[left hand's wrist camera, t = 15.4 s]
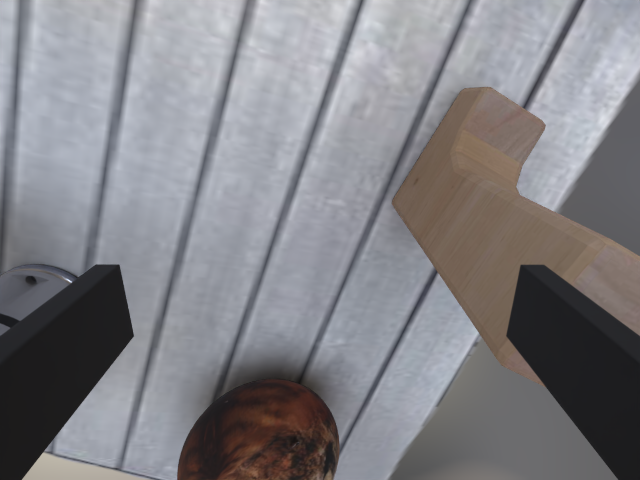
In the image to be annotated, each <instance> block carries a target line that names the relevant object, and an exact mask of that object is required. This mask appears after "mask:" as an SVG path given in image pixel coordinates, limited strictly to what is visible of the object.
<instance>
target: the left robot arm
mask: <svg viewBox="0 0 640 480" xmlns="http://www.w3.org/2000/svg"><path fill="white" fill-rule="evenodd" d="M133 337H134V334H133V329H132V324H131V319H130V314H129V309H128V304H127V299H126V295H125V290H124V285H123V280H122V275H121V270H120V265H95V266H93V267H92V268H91V269H89V270H88V271H87V272H85V273H84V274H83V275H81V276H80V277H79V278H77V277H75V276H73V275H72V274H70V273H68V272H66V271H63V270H61V269H58V268H55V267H51V266H46V265H37V264H32V265H23V266H19V267H16V268H13V269H11V270H9V271H7V272H6V273H4V274H2V275H0V480H22V479H23V477H24V476H25V475H26V473H27V472H28V471H29V470H30V468H31V467H32V466H33V465H34V463H35V462H36V461H37V459H38V458H39V457H40V456H41V454H42V453H43V452H44V450H45V449H46V448H47V447H48V445H49V444H50V443H51V442H52V440H53V439H54V438H55V436H56V435H57V434H58V433H59V431H60V430H61V429H62V427H63V426H64V425H65V424H66V422H67V421H68V420H69V418H70V417H71V416H72V415H73V413H74V412H75V411H76V410H77V408H78V407H79V406H80V404H81V403H82V402H83V401H84V399H85V398H86V397H87V395H88V394H89V393H90V392H91V390H92V389H93V388H94V386H95V385H96V384H97V383H98V381H99V380H100V379H101V378H102V376H103V375H104V374H105V372H106V371H107V370H108V369H109V367H110V366H111V365H112V363H113V362H114V361H115V360H116V358H117V357H118V356H119V354H120V353H121V352H122V351H123V349H124V348H125V347H126V346H127V344H128V343H129V342H130V340H131V339H132V338H133ZM506 337H507V338H508V339H509V340H510V342H511V343H512V344H513V346H514V347H515V348H516V349H517V351H518V352H519V353H520V354H521V356H522V357H523V358H524V360H525V361H526V362H527V363H528V365H529V366H530V367H531V369H532V370H533V371H534V372H535V374H536V375H537V376H538V378H539V379H540V380H541V381H542V383H543V384H544V385H545V386H546V388H547V389H548V390H549V392H550V393H551V394H552V395H553V397H554V398H555V399H556V401H557V402H558V403H559V404H560V406H561V407H562V408H563V409H564V411H565V412H566V413H567V415H568V416H569V417H570V418H571V420H572V421H573V422H574V424H575V425H576V426H577V427H578V429H579V430H580V431H581V433H582V434H583V435H584V436H585V438H586V439H587V440H588V442H589V443H590V444H591V445H592V447H593V448H594V449H595V450H596V452H597V453H598V454H599V456H600V457H601V458H602V459H603V461H604V462H605V463H606V465H607V466H608V467H609V468H610V470H611V471H612V472H613V473H614V475H615V476H616V477H617V478H618V480H640V336H639V335H638V334H637V333H635V332H634V331H633V330H631V329H630V328H629V327H627V326H626V325H625V324H623V323H622V322H620V321H619V320H618V319H616V318H615V317H614V316H612V315H611V314H610V313H608V312H607V311H606V310H604V309H603V308H602V307H600V306H599V305H598V304H596V303H595V302H594V301H592V300H591V299H590V298H588V297H587V296H586V295H584V294H583V293H581V292H580V291H579V290H577V289H576V288H575V287H573V286H572V285H571V284H569V283H568V282H567V281H565V280H564V279H563V278H561V277H560V276H559V275H557V274H556V273H555V272H553V271H552V270H551V269H549V268H548V267H547V266H545V265H520V270H519V275H518V280H517V285H516V290H515V295H514V299H513V304H512V309H511V314H510V319H509V324H508V329H507V334H506Z"/></svg>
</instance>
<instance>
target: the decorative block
mask: <svg viewBox="0 0 640 480" xmlns="http://www.w3.org/2000/svg"><path fill="white" fill-rule="evenodd" d="M545 126H546V125H545V124H544V122H543V121H542V120H541V119H539V118H538V117H536V116H534V115H533V114H531V113H530V112H528V111H527V110H525V109H524V108H522V107H520V106H519V105H517V104H516V103H514V102H513V101H511V100H510V99H508V98H506V97H505V96H503V95H502V94H500V93H499V92H497V91H496V90H494V89H493V88H491V87H479V88H465V89H463V90H462V91H461V92H460V93H459V95H458V97H457V98H456V100H455V101H454V103H453V104H452V106H451V108H450V109H449V111H448V112H447V114H446V116H445V117H444V119H443V120H442V122H441V124H440V125H439V127H438V128H437V130H436V132H435V133H434V135H433V136H432V138H431V139H430V141H429V143H428V144H427V146H426V147H425V149H424V151H423V152H422V154H421V155H420V157H419V159H418V160H417V162H416V163H415V165H414V167H413V168H412V170H411V171H410V173H409V175H408V176H407V178H406V179H405V181H404V183H403V184H402V186H401V187H400V189H399V191H398V192H397V194H396V195H395V197H394V199H393V201H392V205H393V206H394V208H395V209H396V211H397V212H398V214H399V215H400V217H401V218H402V220H403V221H404V223H405V224H406V226H407V227H408V229H409V230H410V232H411V233H412V235H413V236H414V238H415V239H416V240H417V242H418V243H419V245H420V246H421V248H422V249H423V251H424V252H425V254H426V255H427V257H428V258H429V260H430V261H431V263H432V264H433V266H434V267H435V268H436V270H437V271H438V273H439V274H440V276H441V277H442V279H443V280H444V282H445V283H446V285H447V286H448V288H449V289H450V291H451V292H452V294H453V295H454V297H455V298H456V300H457V301H458V302H459V304H460V305H461V307H462V308H463V310H464V311H465V313H466V314H467V316H468V317H469V319H470V320H471V322H472V323H473V325H474V326H475V328H476V329H477V331H478V332H479V333H480V335H481V336H482V338H483V339H484V341H485V342H486V344H487V345H488V347H489V348H490V350H491V351H492V353H493V354H494V356H495V357H496V359H497V360H498V361H499V362H500V364H501V365H502V366H504V367H506V368H508V369H510V370H512V371H514V372H516V373H518V374H520V375H522V376H524V377H526V378H528V379H530V380H532V381H534V382H536V383H538V384H540V385H542V386H544V387H546V386H545V385H544V384H543V383H542V381H541V380H540V379H539V378H538V376H537V375H536V374H535V372H534V371H533V370H532V369H531V367H530V366H529V365H528V363H527V362H526V361H525V360H524V358H523V357H522V356H521V354H520V353H519V352H518V351H517V349H516V348H515V347H514V346H513V344H512V343H511V342H510V340H509V339H508V338H507V337H506V334H507V329H508V324H509V319H510V314H511V309H512V304H513V299H514V295H515V290H516V285H517V280H518V275H519V270H520V265H545V266H547V267H548V268H549V269H551V270H552V271H553V272H555V273H556V274H557V275H559V276H560V277H561V278H563V279H564V280H565V281H567V282H568V283H569V284H571V285H572V286H573V287H575V288H576V289H577V290H579V291H580V292H581V293H583V294H584V295H586V296H587V297H588V298H590V299H591V300H592V301H594V302H595V303H596V304H598V305H599V306H600V307H602V308H603V309H604V310H606V311H607V312H608V313H610V314H611V315H612V316H614V317H615V318H616V319H618V320H619V321H620V322H622V323H623V324H625V325H626V326H627V327H629V328H630V329H631V330H633V331H634V332H635V333H637V334H638V335H639V336H640V257H639V256H638V255H636V254H635V253H633V252H631V251H630V250H628V249H626V248H624V247H623V246H621V245H619V244H618V243H616V242H614V241H613V240H611V239H609V238H607V237H605V236H603V235H601V234H599V233H597V232H595V231H593V230H590V229H588V228H586V227H584V226H582V225H580V224H578V223H576V222H574V221H572V220H570V219H568V218H566V217H564V216H562V215H560V214H558V213H556V212H553V211H551V210H549V209H547V208H545V207H543V206H541V205H539V204H537V203H535V202H533V201H531V200H529V199H527V198H525V197H523V196H521V195H520V194H519V192H518V190H517V188H516V185H517V182H518V178H519V175H520V172H521V169H522V166H523V164H524V162H525V161H526V159H527V157H528V156H529V154H530V153H531V151H532V149H533V148H534V146H535V144H536V143H537V141H538V140H539V138H540V136H541V135H542V133H543V131H544V130H545Z"/></svg>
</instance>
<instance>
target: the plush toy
mask: <svg viewBox="0 0 640 480" xmlns="http://www.w3.org/2000/svg"><path fill="white" fill-rule="evenodd" d="M338 459H339V435H338V430H337V426H336V423H335V420H334V418H333V415H332V413H331V412H330V410H329V408H328V407H327V405H326V404H325V403H324V401H323V400H322V399H321V398H320V397H319V396H318V395H317V394H316V393H314V392H313V391H312V390H310V389H309V388H307V387H305V386H303V385H301V384H298V383H295V382H292V381H288V380H281V379H265V380H258V381H254V382H250V383H247V384H244V385H242V386H239V387H237V388H235V389H233V390H231V391H229V392H228V393H226V394H225V395H223V396H222V397H220V398H219V399H218V400H216V401H215V402H214V403H213V404H212V405H211V406H210V407H208V408H207V409H206V411H205V412H204V413H203V414H202V415H201V416H200V417H199V419H198V420H197V421H196V423H195V424H194V426H193V428H192V429H191V431H190V433H189V434H188V436H187V438H186V441H185V443H184V446H183V449H182V452H181V455H180V459H179V464H178V473H177V480H333V479H334V476H335V473H336V469H337V465H338Z"/></svg>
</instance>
